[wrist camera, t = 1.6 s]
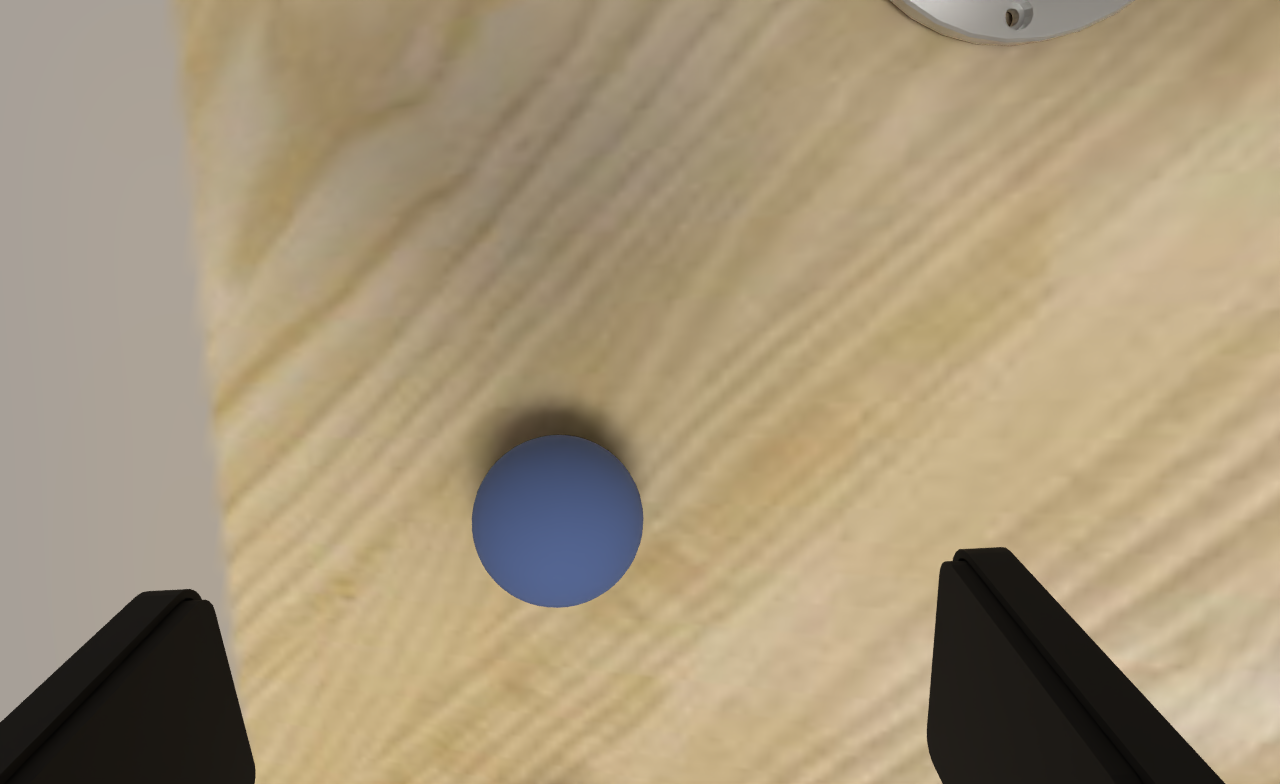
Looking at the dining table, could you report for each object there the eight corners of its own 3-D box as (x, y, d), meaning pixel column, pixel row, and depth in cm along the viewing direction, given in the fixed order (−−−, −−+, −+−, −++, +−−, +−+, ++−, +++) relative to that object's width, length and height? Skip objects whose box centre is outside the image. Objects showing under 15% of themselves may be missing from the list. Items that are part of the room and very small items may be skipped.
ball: (482, 412, 29) (448, 477, 23) (640, 410, 29) (645, 474, 24) (492, 554, 31) (462, 645, 25) (641, 551, 31) (646, 642, 25)
